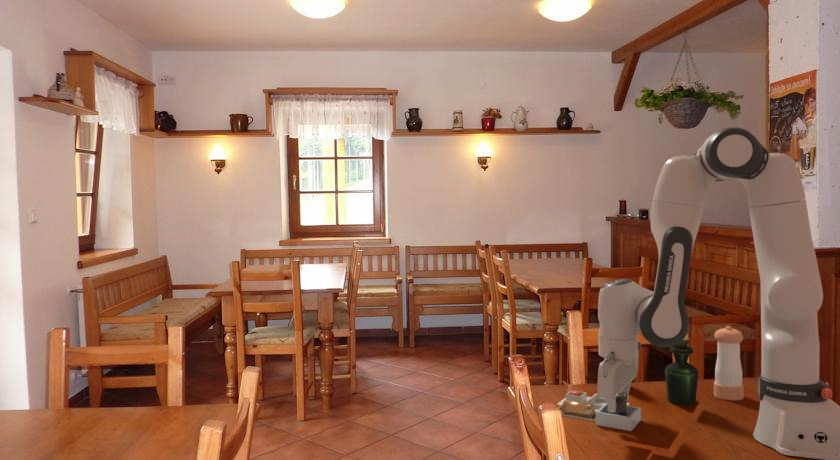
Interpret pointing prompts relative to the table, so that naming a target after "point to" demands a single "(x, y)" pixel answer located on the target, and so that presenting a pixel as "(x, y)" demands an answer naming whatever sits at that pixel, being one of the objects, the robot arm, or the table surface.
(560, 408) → the trough
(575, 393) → the button
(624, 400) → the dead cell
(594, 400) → the battery tester
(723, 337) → the pepper shaker
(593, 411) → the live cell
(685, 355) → the potion bottle
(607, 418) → the grey square open box
